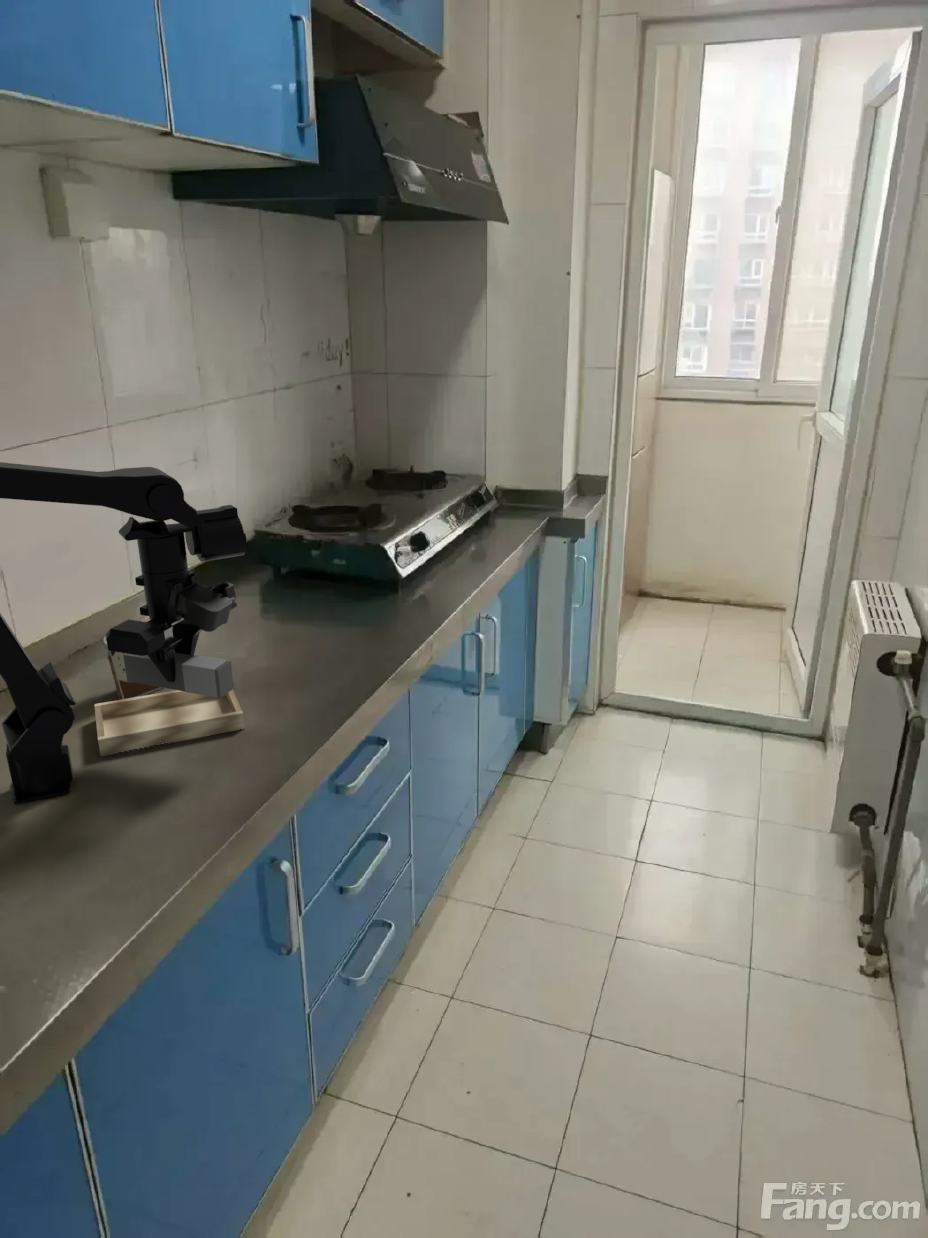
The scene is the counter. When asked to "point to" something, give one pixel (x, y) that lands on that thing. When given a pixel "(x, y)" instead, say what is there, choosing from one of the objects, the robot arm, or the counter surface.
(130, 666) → the tall gray brick
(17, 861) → the counter surface
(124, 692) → the food container
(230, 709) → the tray
